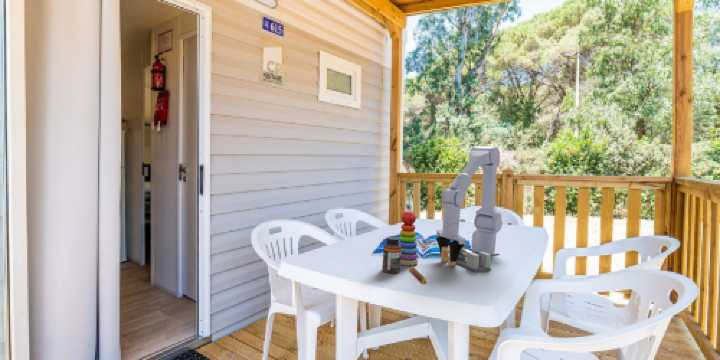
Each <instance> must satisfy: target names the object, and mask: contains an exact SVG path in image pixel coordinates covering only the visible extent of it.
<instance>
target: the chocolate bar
mask: <svg viewBox="0 0 720 360" xmlns="http://www.w3.org/2000/svg"><path fill="white" fill-rule="evenodd" d="M408 271H409V272H410V273H411V275H412V276H413V277H415V279H416V280H417V281H418V282H419V283H421V284H428V282H427V280H426V278H425V276H424V275H423V274H422V273H421V272H419V270H418V269H416V268H415V266H414V265H411V267H410V268H409V270H408Z"/></svg>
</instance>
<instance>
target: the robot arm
mask: <svg viewBox="0 0 720 360" xmlns="http://www.w3.org/2000/svg"><path fill="white" fill-rule="evenodd" d="M468 155H469V156H468V157H469V159H468V161H467V164H466V166H465V167H464V169H463V171H462V172H461V173H458V174H457V175H456V177H455V179H454V180H453V181H452V183H451V184H450V186H449V188H446V189H444V190H443V191H442V193H441V196H440V198H441V199H440V200H441V202H442V209H443V216H442V229H436V237H435V241H436V242H437V245H438V249H439V253H440V256H441V252H442V247H447V246H448V247H449V248H450V260H451V262H455V261H457V258H458V255H459V252H460V250H461V249H462V247H463V246H464V244H465V243H466V238H465V237H463V236H462V235H460V234H459V231H460V229H459V228H460V217H461V216H460V215H461V206H462V205H463V204H464V202H465V197H466V195H467V194H466V192H467V191H468V190H469V187H470V185H471V184H472V177H473V176H474V174H475V173H476V172H477V170H478V169H479V167H481V169H482V187H481V188H482V190H481V207H480V208H479V209H477V210H476V211H475V216H474V218H473V224H474V227H475V230H474V231H473V233H472V235H471V247H470V248H469V250H470V249H471V250H470V251H471V252H474V253H476V254H479V252H485V253H488V254H491V256H493V255H494V256H495V255H496V256H497V255H500V254H501V253H500V252H498V251H496V243H497V234H498V233H499V232H501V229H502V227H503V221H502V213H501V212H500V211H499V210H498V209H497V208H496V188H497V170H498V169H497V168H498V167H500V160H501V159H500V158H501V152H500V150H499V148H498V147H497V146H477V145H473V146H472V147H471V149H470V151H469V154H468Z"/></svg>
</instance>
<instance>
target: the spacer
mask: <svg viewBox="0 0 720 360" xmlns="http://www.w3.org/2000/svg"><path fill="white" fill-rule="evenodd" d="M448 254H449V260H448ZM440 262H441V263H446V262H447V263H448V266H450V267H453V266H456V265H457V263H456V261H455V262H451V260H450V248H449V246H447V247H442V252H441V255H440Z"/></svg>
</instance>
